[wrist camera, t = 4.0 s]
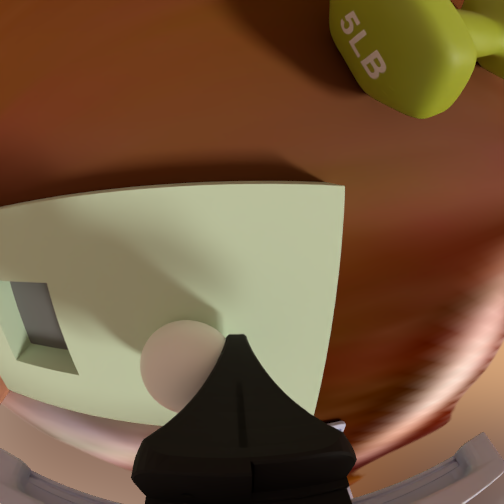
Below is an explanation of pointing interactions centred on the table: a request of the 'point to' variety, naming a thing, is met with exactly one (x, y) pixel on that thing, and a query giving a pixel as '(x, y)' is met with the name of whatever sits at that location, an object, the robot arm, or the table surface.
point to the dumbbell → (417, 48)
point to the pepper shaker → (3, 390)
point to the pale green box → (165, 286)
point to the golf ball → (179, 361)
